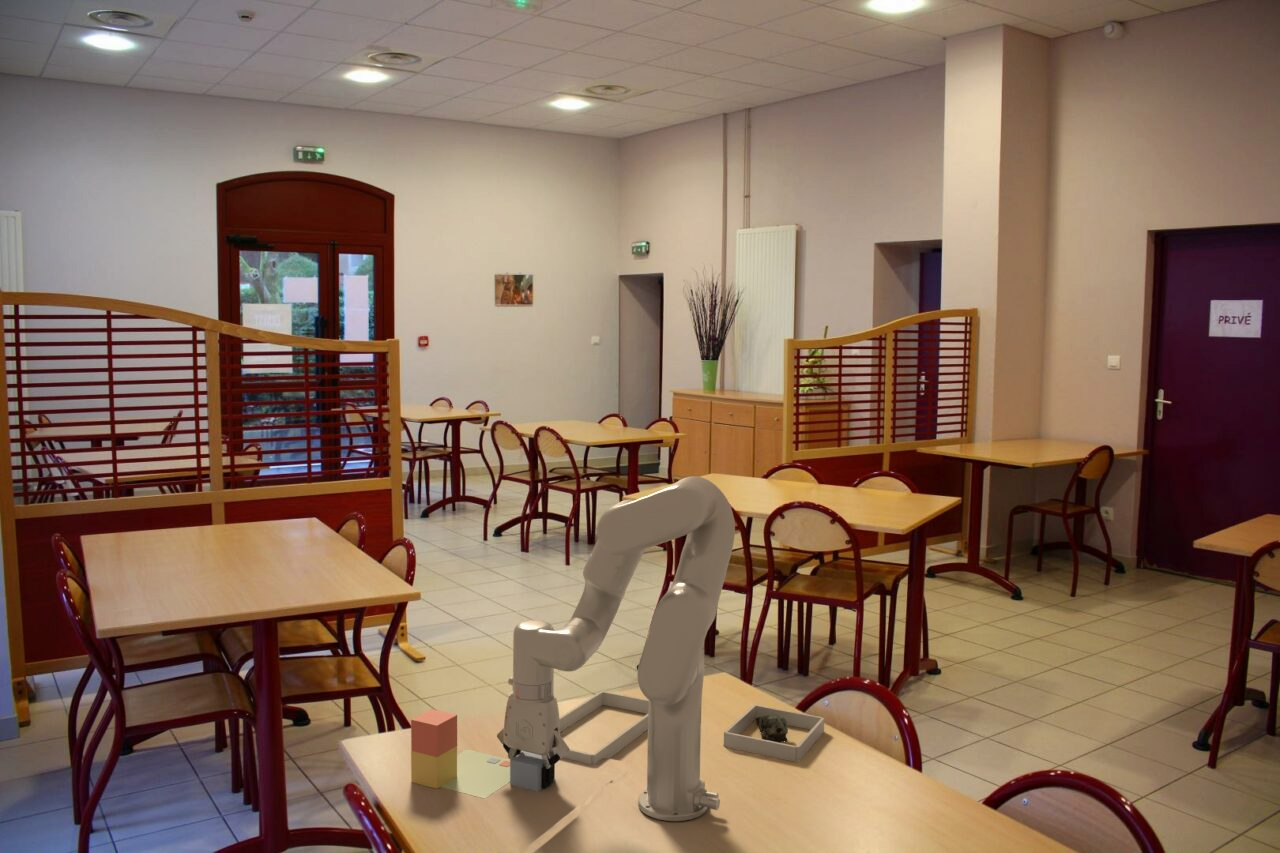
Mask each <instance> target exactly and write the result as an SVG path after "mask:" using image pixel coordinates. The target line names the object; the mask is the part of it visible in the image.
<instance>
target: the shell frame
mask: <svg viewBox="0 0 1280 853" xmlns="http://www.w3.org/2000/svg"><path fill="white" fill-rule="evenodd" d="M770 714H777V715H781V716H782V717H784V718H785V719H786V721H787V726H791V727H796V728H800V729H801V728H802V729H804V730H805V729H806V730H809V731H808V733H807V734H806V735H804V737H803V738H802V739H801V741H800V742H799V743H798V744H797V745H792V744H787V743H784V742H780V743H778V742H773V741H768V740H763V739H762V738H759V737H753V736H748V735H743V734H741V733H742V732H743V731H745V730H746V728H747V727H749V726H750V725H751V724H752V723H753V722H754V721H755V720H757V719H756V718H758V717H760V716H761V717H764V716H767V715H770ZM824 732H825V717H822V716H817V715H812V714H807V713H801V712H796V711H791V710H787V709H785V710H784V709H780V708H776V707H770V706H765V705H759V704H753V705H752V706H751V707H750V708H748V710H747V711H745V712H744V713H743V714H742V715H741V716H739V718H738V719H736V721H734V722H733V723H732V724H731V725H730V726H729V727H727V729H725V730H724V732H723V747H725V748H727V749H728V748H729V749H733V750H736V751H737V750H738V751H744V752H748V753H752V754H756V755H761V756H766V757H771V758H775V759H781V760H786V761H789V762H800V761H801V760H802V759H803V757H804V756H805V755H806V754H807V753H808V751H810V749H811V747H813V745H814V744H815V743H816V742H817V740H819V738H820V737H821V736H822V735H823V733H824Z"/></svg>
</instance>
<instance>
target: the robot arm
mask: <svg viewBox="0 0 1280 853" xmlns="http://www.w3.org/2000/svg"><path fill="white" fill-rule="evenodd" d="M735 529H736V526H735V517H734V513H733V510H732V507H731V504H730V502H729V500H728V498H727V497H726V495H725V494H724V492H722V490H721V489H720V488H719V487H718V486H717V485H716V484H715V483H713V482H712V481H710V480H709V479H707V478H705V477H701V476H697V475H696V476H695V475H693V476H688V477H683V478H682V479H679V480H678V481H676V482H675V483H673V484H672V485H671V486H669V487H666V488H664V489H662V490H661V489H660V490H659V491H656V492H654V493H651V494H649V495H646V496H644V497H640V498H638V499H632V498H631V499H629V498H628V499H624V500H622V501H619V502H618V503H616V504H614V505H613V506H611V507H610V508H607V509H606V511H604V512H603V513H602V514H601V517H600V518H599V521H598V522H597V528H596V536H597V540H596V543H595V544H594V546H593V549H592V551H591V553H590V555H589V558H588V559H587V561H586V563H585V565H584V568H583V570H582V575H583V578H584V582H585V583H584V588H583V591H582V595H581V596H580V599H579V601H578V603H577V605H576V607H575V609H574V611H573V614H572V616H571V618H570V620H569V621H568V622H567V623H566V624H565V625H564V626H563V627H561V628H559V629H554V627H553V626H552V624H551V623H549V622H547V621H545V620H537V619H533V620H531V619H530V620H525V621H522V622H519V623H518V624H517V625H516V626H515V627H514V629H513V635H512V636H513V641H512V642H513V643H512V644H513V646H512V647H513V650H512V654H513V655H512V656H513V657H512V658H513V659H512V677H509V679H508V680H507V683H508V685H510V686H512V691H511V692H510V693H508V694H509V695H508V698H507V702H506V706H505V712H504V723H503V728H502V729H500V731H499V732H498V733H497V734H496V737H497V740H499V742H500V743H501V745H502V746H503V748H504V750H505V752H506V753H507V759H509V760H510V759H512V758H514V757H515V756H517V755H518V754H520V753H521V752H523V751H526V752H530V753H534V754H539V755H541V757H542V760H543V763H544V767H543V768H542V789H544V790H545V789H547V788H548V787H549V786H551V785H552V784H553V783H554V781H555V779H554V769H555V768H556V764H557V763H558V762H559V761H561V759H562V757H563V756H565V755H566V754H567V753H568V752H569V751H570V749H571V748H569V746H568V745H567V743H566V742H565V740H564V739H563V738H562V736H561V732H560V719H559V717H560V711H559V710H560V709H559V704H558V700H557V696H556V695H554V686H555V685H554V683H555V681H554V677H555V676H554V675H555V674H554V673H555V670H557V671H561V672H576V671H577V670H579V669H581V668H582V667H583V666H584V665H585V664H586V663H587V662H588V661H589V660H590V658H592V656H594V654H595V653H596V652H597V651H598V650H599V649H600V647H601V646H602V645H603V642H604V640H605V638H606V637H607V634H608V631H609V630H610V628H611V626H612V623H614V619H615V617H616V614H617V612H618V611H619V608H620V605H621V602H622V601H623V598H624V597H625V594H626V591H627V589H628V586H629V584H630V583H631V580H632V578H633V575H634V573H635V572H636V570H637V567H638V565H639V563H640V561H641V559H642V556H643V555H644V553H645V551H646V550H647V549H650V548H652V547H656V546H658V545H661V544H663V543H667V542H669V541H673V540H675V539H679V538H681V537H684V536H686V538H685V542H684V544H683V547H682V551H681V554H680V558H679V561H678V562H679V563H678V566H677V570H676V572H675V575H674V578H673V581H672V584H671V586H670V588H668V590H667V591H666V593H665V594H664V595H663V596H662V597H661V598H660V600H659V601H658V603H657V605H656V607H655V608H654V611H653V615H652V617H651V622H650V625H649V629H648V633H647V635H646V638H645V643H644V645H643V650H642V653H641V656H640V660H639V663H638V667H637V678H636V679H637V684H638V687H639V689H640V691H641V693H642V695H643V696H644V697H645V698H646V700H649V707H648V729H647V762H646V763H647V770H646V773H647V774H646V789H645V790H643V791H642V792H641V793H640V794H639V796H638V799H637V801H638V802H637V805H638V807H639V809H640V811H642V813H644V814H645V815H646V816H648V817H651V818H653V819H656V820H661V821H666V822H684V821H690V820H694V819H697V818H698V817H702V815H703V814H705V813H706V812H707V810H708V809H710V810H715V811H718V810H719V808H720V807H721V805H720V804H721V800H720V798H719V793H718V792H713V791H708V790H707V789H706V781H705V780H702V779H701V734H702V702H703V687H704V678H705V677H704V676H705V657H704V653H703V652H704V651H703V646H704V644H705V640H706V637H707V634H708V631H709V630H710V627H711V626H712V624H713V622H714V621H715V619H716V615H717V610H718V605H719V601H720V597H721V593H722V590H723V586H724V582H725V580H726V575H727V571H728V566H729V564H730V560H731V556H732V552H733V548H734V541H735V533H736V530H735ZM555 747H557V748H558V752H557V753H556V754H555V750H554V748H555ZM548 754H549V756H548ZM549 757H550V759H549Z"/></svg>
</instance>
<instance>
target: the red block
mask: <svg viewBox="0 0 1280 853" xmlns="http://www.w3.org/2000/svg"><path fill="white" fill-rule="evenodd" d="M410 730H411V731H410V733H411V734H410V737H411V740H410V741H411V743H410V744H411V746H410V750H411V751H414V752H418V753H422V754H426V755H430V756H434V757H439V756H440V755H442V754H444V753H446V752H447V751H449V750H451V749H452V748H454V747H456V746H457V747H458V714H455V713H452V712H451V713H450V712H446V711H441V710H439V709H433V708H432V709H429V710H427V711H426V712H424V713H421V714H420V715H418V716H416V717H414V718H412V719H411V720H410ZM411 751H410V752H411Z"/></svg>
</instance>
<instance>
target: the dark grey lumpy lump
mask: <svg viewBox="0 0 1280 853" xmlns="http://www.w3.org/2000/svg"><path fill="white" fill-rule="evenodd" d="M755 720H756V725H757V727H758V731H759V730H760V731H759V735H760V736H761V738H760V739H763V740H768V741H773V742H778V743H779V742H780V743H788V742H789V741H788V738H787V735H788V733H789V732H788V731H789V729H788V725H787V721H786V719H785V718H784V717H782V716H781V715H777V714H770V715H767V716H764V717H761V716H760V717H758V718H756V719H755ZM760 732H761V733H760ZM784 741H785V742H784Z"/></svg>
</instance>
